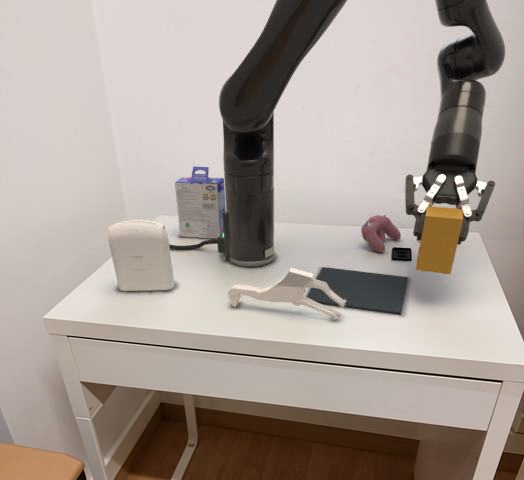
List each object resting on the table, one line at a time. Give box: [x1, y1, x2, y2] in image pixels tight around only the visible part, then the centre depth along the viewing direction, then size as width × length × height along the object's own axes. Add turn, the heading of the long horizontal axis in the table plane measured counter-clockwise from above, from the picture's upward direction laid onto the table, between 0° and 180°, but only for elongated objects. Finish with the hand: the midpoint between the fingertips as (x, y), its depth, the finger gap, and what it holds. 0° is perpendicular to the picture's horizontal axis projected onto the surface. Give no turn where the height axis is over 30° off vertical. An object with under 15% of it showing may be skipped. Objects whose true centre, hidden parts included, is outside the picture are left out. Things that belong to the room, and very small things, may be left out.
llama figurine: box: [227, 267, 347, 321], centre depth 78 cm, size 2×11×18 cm
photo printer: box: [107, 219, 176, 292], centre depth 84 cm, size 10×4×12 cm, turn 89°
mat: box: [306, 266, 408, 316], centre depth 86 cm, size 16×14×1 cm
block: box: [415, 206, 463, 275], centre depth 77 cm, size 5×5×9 cm
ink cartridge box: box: [174, 166, 226, 240], centre depth 106 cm, size 10×6×14 cm, turn 78°
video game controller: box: [360, 214, 402, 253], centre depth 102 cm, size 10×5×7 cm, turn 144°
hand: (439, 239), depth 76 cm, fingers closed on block, 5 cm apart
